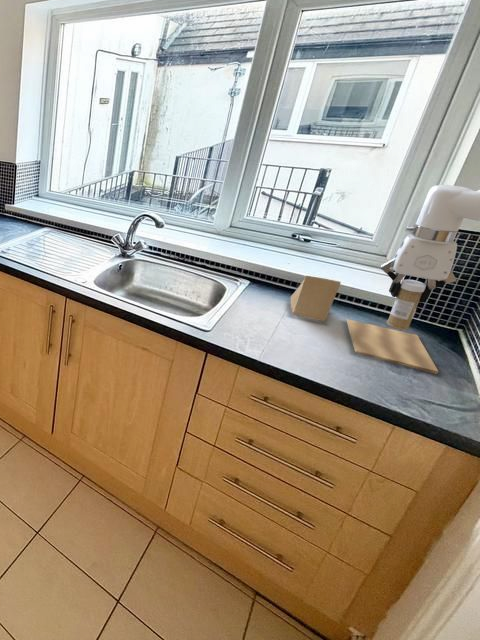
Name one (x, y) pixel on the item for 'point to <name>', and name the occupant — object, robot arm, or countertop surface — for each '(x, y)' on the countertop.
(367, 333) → the chopping board
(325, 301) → the sandwich container
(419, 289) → the sprinkles bottle
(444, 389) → the countertop surface
